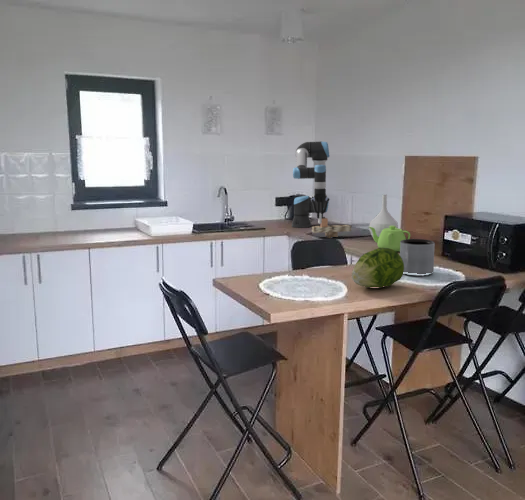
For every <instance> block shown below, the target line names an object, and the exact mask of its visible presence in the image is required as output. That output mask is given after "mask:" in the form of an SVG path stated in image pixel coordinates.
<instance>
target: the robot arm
mask: <svg viewBox="0 0 525 500" xmlns="http://www.w3.org/2000/svg"><path fill="white" fill-rule="evenodd" d="M294 154H295V157H296V161H295V162H296V166H295V167H293V168H292V178H293V179H294V180H295V179H297V180H300V179H301V180H302V179H303V180H304V179H310V180H311V179H313V194H312V195H311V197H310V195H304V196H303V195H302V196H301V195H300V196H297V197H294V200H293V219H292V222H291V228H296V229H297V228H299V229H302V228H303V229H305V228H312V222H311V218H310V214H316V218H317V220H318V221H317V223H318V224H322V218H323V217H324V214H326V213H327V212H328V210H329V209H328V208H329V204H330V203H329V201H330V200H331V199H330V198H329V197H328V194H326V193H327V192H326V191H327V190H326V188H327V187H326V186H327V166H326V163H327V161H328V158H330V149H329V143H328V141H320V140H319V141H305V142H302V143H301V144H300V145H299V146H298V147H297V148H295V153H294ZM308 158H309V159H311V161H312V162H313V166H312V167H308Z"/></svg>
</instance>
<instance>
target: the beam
mask: <svg viewBox="0 0 525 500" xmlns="http://www.w3.org/2000/svg"><path fill="white" fill-rule="evenodd" d="M351 231H352V225H350V224H338V225H337V224H335V225H334V224H333V225H332V224H331V225H328V227H320V225H315V226H314V225H313V226H312V225H311V232H312V233H314V234H319V233H320V234H321V233H322V234H323V233H324V234H325V235H324V236H325V237H326V236H327V237H326V238H328V239H332V238H331V237H338V236H339V235H338V234H339V233H340V232H342V233H343V232H351ZM338 238H339V237H338Z"/></svg>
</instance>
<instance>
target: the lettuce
mask: <svg viewBox="0 0 525 500" xmlns="http://www.w3.org/2000/svg"><path fill="white" fill-rule="evenodd" d="M403 272H404V263H403V260H402V258H401V256H400V253H398V252H396V251H394V250H393V249H390V248H379V247H378V248H375V249H373V250H371V251H367V252H365V253H363V254H362V255H361V256H360V257H359V259H358V260H357V262H356V263H355V265H354V267H353V269H352V272H351V279H352V281H353V282H354V283H355V284H356V285H358V286H359V287H360V286H361V287H364V286H365V287H364V288H367V287H383V286H388V287H391V286H392V285H393V284H395V283H397V282H398V281H400V280H401V279H402V278H403V275H404V274H403Z"/></svg>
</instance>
